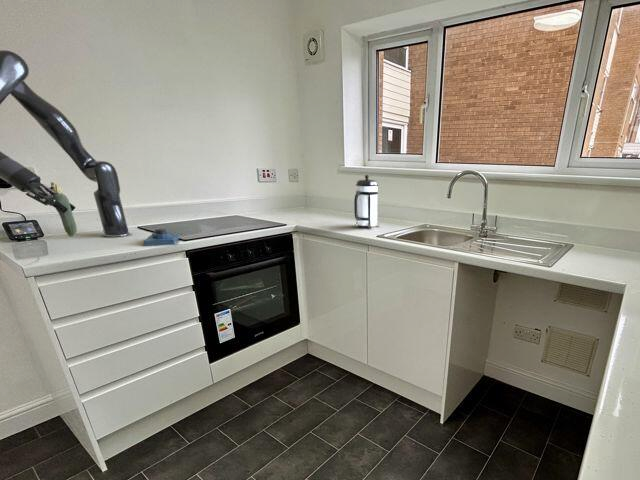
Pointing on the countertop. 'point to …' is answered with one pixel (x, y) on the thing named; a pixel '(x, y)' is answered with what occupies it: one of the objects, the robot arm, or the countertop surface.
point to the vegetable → (68, 216)
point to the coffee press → (366, 202)
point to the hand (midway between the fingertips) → (69, 210)
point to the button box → (161, 239)
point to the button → (160, 231)
